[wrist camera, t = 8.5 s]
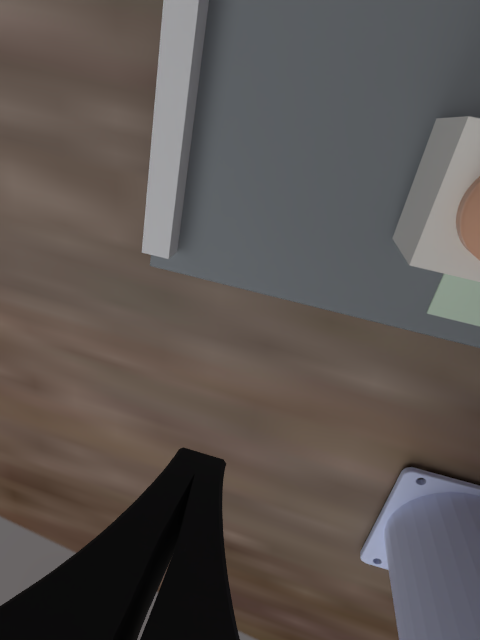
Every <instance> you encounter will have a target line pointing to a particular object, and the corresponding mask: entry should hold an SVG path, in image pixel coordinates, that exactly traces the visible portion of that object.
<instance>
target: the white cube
mask: <svg viewBox="0 0 480 640" xmlns="http://www.w3.org/2000/svg"><path fill="white" fill-rule="evenodd" d="M392 239H393V240H394V242H395V243H396V245H397V247H398V248H399V250H400V251H401V253H402V255H403V256H404V258H405V259H406V261H407V263H408V264H409V265H410V266H414V267H418V268H422V269H427V270H431V271H435V272H439V273H444V274H448V275H452V276H456V277H460V278H465V279H469V280H473V281H477V282H480V118H475V117H470V116H464V117H450V118H436V121H435V124H434V126H433V129H432V132H431V134H430V137H429V140H428V143H427V145H426V148H425V151H424V154H423V156H422V159H421V162H420V164H419V167H418V170H417V173H416V175H415V178H414V181H413V184H412V186H411V189H410V192H409V194H408V197H407V200H406V203H405V205H404V208H403V211H402V214H401V216H400V219H399V222H398V224H397V227H396V230H395V233H394V235H393V238H392Z"/></svg>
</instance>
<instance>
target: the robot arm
mask: <svg viewBox="0 0 480 640" xmlns="http://www.w3.org/2000/svg"><path fill="white" fill-rule="evenodd" d="M225 466H226V463H225V461H224V460H223V459H220V458H216V457H213V456H210V455H206V454H203V453H200V452H196V451H193V450H190V449H186V448H181V449H179V450H178V452H177V453H176V455H175V456H174V458H173V459H172V460H171V462H170V463H169V464H168V465H167V467H166V468H165V469H164V470H163V472H162V473H161V474H160V475H159V476H158V477H157V478H156V480H155V481H154V482H153V483H152V484H151V485H150V486H149V487H148V488H147V489H146V490H145V491H144V493H143V494H142V495H141V496H140V497H139V498H138V499H137V500H136V501H135V502H134V503H133V504H132V505H131V506H130V507H129V508H128V509H127V510H126V511H125V512H123V513H122V514H121V515H120V516H119V517H118V518H117V519H116V520H115V521H114V522H113V523H112V524H111V525H110V526H108V527H107V528H106V529H105V530H104V531H103V532H102V533H100V534H99V535H98V536H97V537H96V538H95V539H93V540H92V541H91V542H90V543H88V544H87V545H86V546H85V547H84V548H82V549H81V550H80V551H79V552H77V553H76V554H75V555H73V556H72V557H71V558H69V559H68V560H67V561H65V562H64V563H63V564H61V565H60V566H59V567H58V568H56V569H55V570H53V571H52V572H51V573H49V574H48V575H46V576H45V577H44V578H42V579H41V580H39V581H38V582H36V583H35V584H33V585H32V586H30V587H29V588H27V589H26V590H24V591H22V592H21V593H19V594H18V595H16V596H15V597H14V598H12V599H10V600H9V601H8V602H6V603H4V604H3V605H1V606H0V640H137V638H138V635H139V632H140V630H141V627H142V625H143V622H144V620H145V617H146V615H147V612H148V610H149V608H150V606H151V603H152V601H153V599H154V596H155V594H156V592H157V590H158V587H159V585H160V583H161V580H162V578H163V576H164V574H165V571H166V569H167V567H168V569H167V572H166V574H165V577H164V580H163V582H162V585H161V588H160V590H159V593H158V596H157V598H156V601H155V603H154V606H153V609H152V611H151V614H150V616H149V619H148V621H147V624H146V626H145V629H144V631H143V634H142V637H141V639H140V640H240V639H239V635H238V630H237V626H236V621H235V616H234V611H233V605H232V600H231V594H230V588H229V582H228V575H227V567H226V558H225V549H224V538H223V519H222V489H223V477H224V471H225ZM418 478H423V479H421V480H419V479H418ZM172 555H173V556H172ZM360 556H361V560H362V561H363V562H365V563H367V564H370V565H374V566H377V567H380V568H384V569H387V570H389V575H390V582H391V588H392V595H393V602H394V608H395V615H396V622H397V628H398V635H399V640H480V486H479V485H476V484H472V483H468V482H465V481H461V480H458V479H454V478H450V477H447V476H443V475H439V474H436V473H432V472H428V471H425V470H421V469H417V468H414V467H408V468H405V469H403V470H402V471H401V473H400V475H399V477H398V479H397V481H396V483H395V485H394V487H393V489H392V491H391V493H390V495H389V497H388V499H387V501H386V503H385V505H384V507H383V509H382V511H381V513H380V515H379V516H378V518H377V520H376V522H375V524H374V526H373V528H372V530H371V532H370V534H369V536H368V538H367V540H366V542H365V544H364V546H363V548H362V550H361V552H360ZM170 560H171V561H170ZM169 562H170V564H169ZM168 564H169V566H168Z"/></svg>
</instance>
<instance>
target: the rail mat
mask: <svg viewBox="0 0 480 640" xmlns="http://www.w3.org/2000/svg"><path fill="white" fill-rule="evenodd" d="M464 116H470V117H475V118H480V0H164V2H163V14H162V25H161V37H160V48H159V60H158V72H157V83H156V95H155V106H154V118H153V129H152V141H151V153H150V164H149V176H148V187H147V199H146V210H145V222H144V233H143V245H142V253H146V254H150V255H151V262H150V266H153V267H157V268H161V269H165V270H169V271H173V272H177V273H181V274H185V275H189V276H193V277H197V278H201V279H205V280H209V281H213V282H217V283H221V284H225V285H229V286H233V287H237V288H241V289H245V290H249V291H253V292H257V293H261V294H265V295H269V296H273V297H277V298H281V299H285V300H289V301H293V302H297V303H301V304H305V305H309V306H313V307H317V308H321V309H325V310H329V311H333V312H337V313H341V314H346V315H350V316H354V317H358V318H362V319H366V320H370V321H374V322H378V323H382V324H386V325H390V326H394V327H398V328H402V329H406V330H410V331H414V332H418V333H422V334H426V335H430V336H434V337H438V338H442V339H446V340H450V341H454V342H458V343H462V344H466V345H470V346H474V347H478V348H480V282H477V281H473V280H469V279H465V278H460V277H456V276H452V275H448V274H444V273H439V272H435V271H431V270H427V269H422V268H418V267H414V266H410V265H409V264H408V263H407V261H406V259H405V258H404V256H403V255H402V253H401V251H400V250H399V248H398V247H397V245H396V243H395V242H394V240H393V239H392V238H393V235H394V233H395V230H396V227H397V224H398V222H399V219H400V216H401V214H402V211H403V208H404V205H405V203H406V200H407V197H408V194H409V192H410V189H411V186H412V184H413V181H414V178H415V175H416V173H417V170H418V167H419V164H420V162H421V159H422V156H423V154H424V151H425V148H426V145H427V143H428V140H429V137H430V134H431V132H432V129H433V126H434V124H435V121H436V118H450V117H464Z"/></svg>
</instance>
